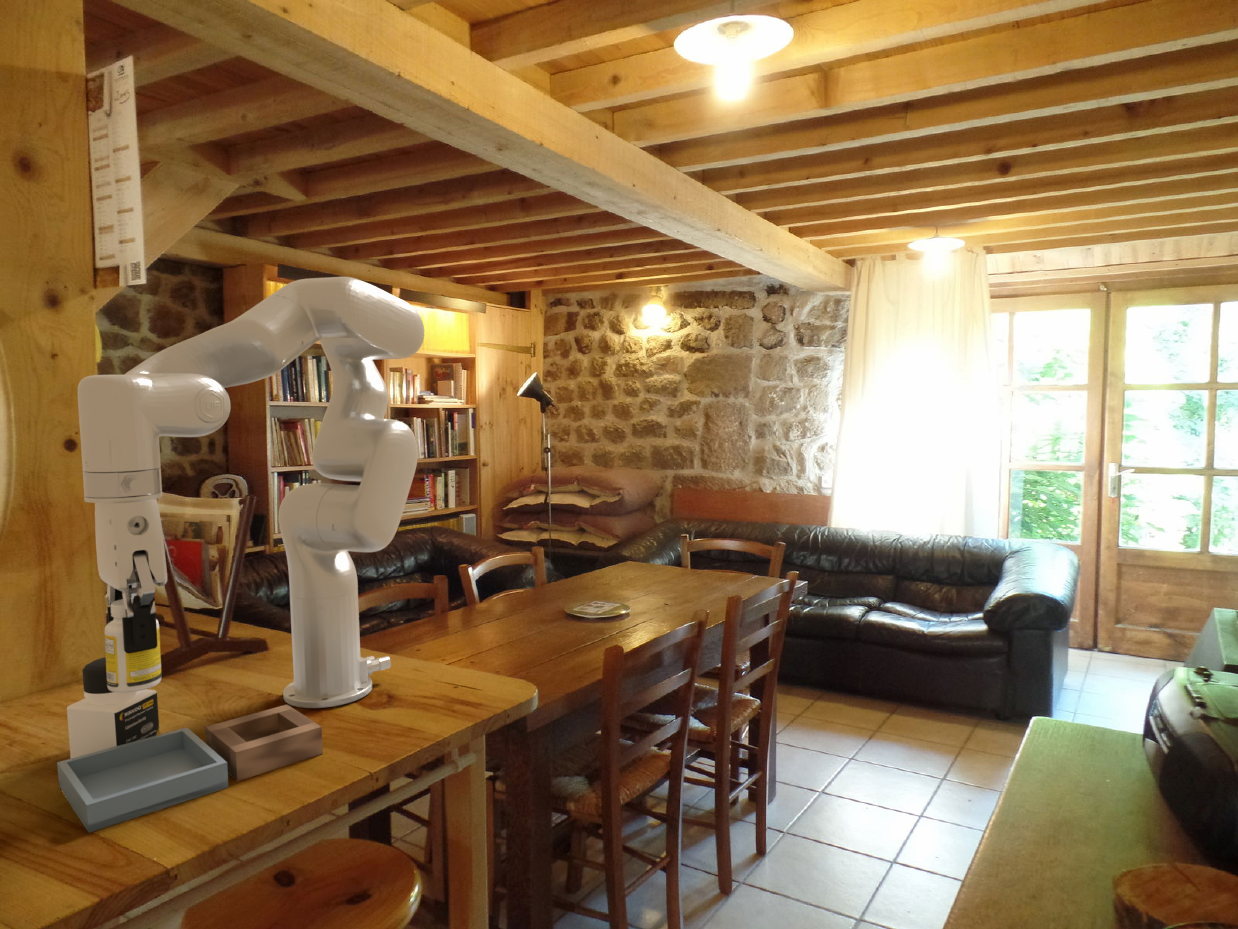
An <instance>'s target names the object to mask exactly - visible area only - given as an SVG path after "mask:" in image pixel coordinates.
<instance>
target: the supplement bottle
mask: <svg viewBox="0 0 1238 929" xmlns="http://www.w3.org/2000/svg"><path fill="white" fill-rule="evenodd" d="M133 599H134V598H131V601H133ZM110 607H111V616H112V617H114V620H113V621H111V622H109V623H107V624H106V626H105V627H104V648H105V650H104V651H105V652H104V653H105V657H106V673H107V687H108V689H109V690H110V691H112V692H118V693H126V692H136V691H141V690H146V689H148V690H150V689H151V688H153V687H155V686H158V685H159V684H160V682H161V681H162V659H161V657H162V656H161V637H160V635H161V634H160V633H161V632H160V624H159V620H158V619H157V618H156V627H157V644H158V645H157V647H156V648H154V649H150V650H145V651H140V652H135V653H130V654H128V653H126V652H125V651H124V639H123V623H122V618H123V617H126V615H125V609H124V602H123V599H121V600H117V601H114V602H112V603H111V606H110Z"/></svg>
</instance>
